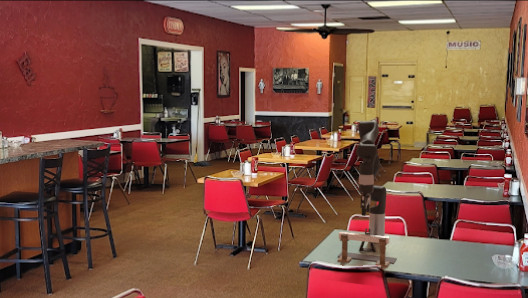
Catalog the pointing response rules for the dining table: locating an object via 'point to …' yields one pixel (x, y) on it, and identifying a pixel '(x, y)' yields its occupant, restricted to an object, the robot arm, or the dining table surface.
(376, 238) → the brown wooden bar
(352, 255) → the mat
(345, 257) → the stand
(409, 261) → the dining table surface
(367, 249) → the black triangular frame
